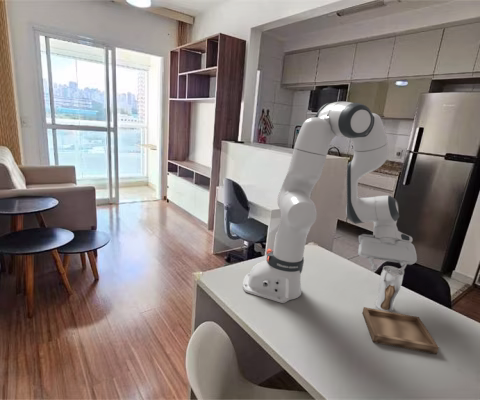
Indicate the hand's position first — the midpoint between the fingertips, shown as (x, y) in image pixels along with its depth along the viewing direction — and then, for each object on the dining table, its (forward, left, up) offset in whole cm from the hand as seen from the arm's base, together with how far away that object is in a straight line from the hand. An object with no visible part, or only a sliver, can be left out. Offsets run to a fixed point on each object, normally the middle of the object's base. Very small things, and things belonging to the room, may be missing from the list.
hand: (387, 271), depth 107 cm
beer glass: (0, -4, -12) cm, 13 cm away
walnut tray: (0, -18, -12) cm, 21 cm away
